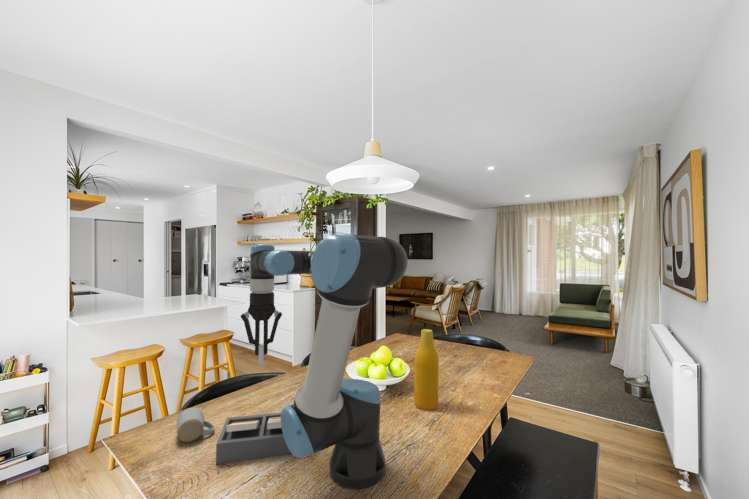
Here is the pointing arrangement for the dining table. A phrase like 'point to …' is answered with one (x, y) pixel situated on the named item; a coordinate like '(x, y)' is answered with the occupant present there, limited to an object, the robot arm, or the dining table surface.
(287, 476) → the dining table surface
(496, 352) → the dining table surface
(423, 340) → the beer bottle
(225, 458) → the grey divided tray
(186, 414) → the ceramic mug
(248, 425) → the breaker rocker
